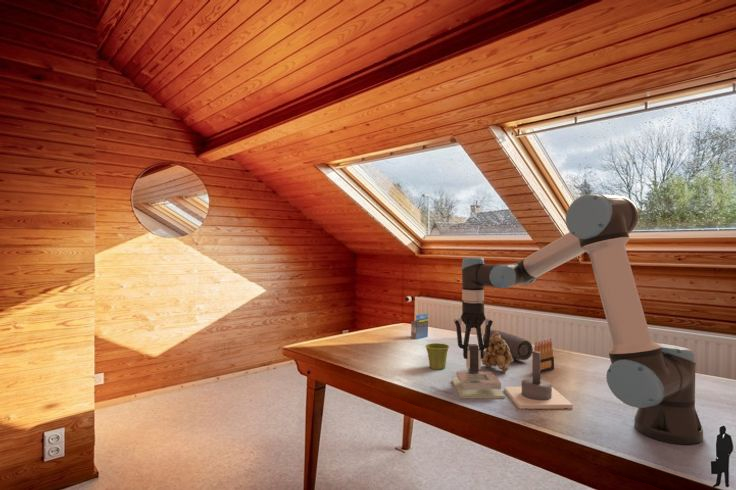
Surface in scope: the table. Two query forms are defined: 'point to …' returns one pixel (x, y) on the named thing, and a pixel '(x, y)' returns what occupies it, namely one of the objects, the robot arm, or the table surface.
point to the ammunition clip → (545, 355)
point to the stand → (537, 391)
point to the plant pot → (437, 355)
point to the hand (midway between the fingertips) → (473, 367)
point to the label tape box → (419, 327)
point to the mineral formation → (497, 353)
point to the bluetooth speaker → (515, 345)
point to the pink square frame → (477, 374)
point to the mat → (476, 392)
